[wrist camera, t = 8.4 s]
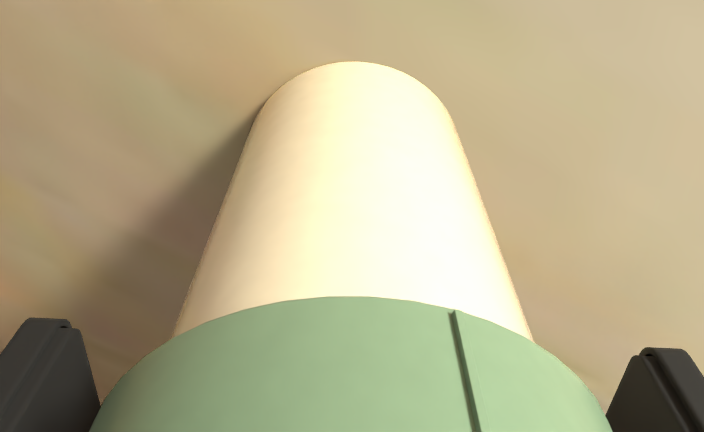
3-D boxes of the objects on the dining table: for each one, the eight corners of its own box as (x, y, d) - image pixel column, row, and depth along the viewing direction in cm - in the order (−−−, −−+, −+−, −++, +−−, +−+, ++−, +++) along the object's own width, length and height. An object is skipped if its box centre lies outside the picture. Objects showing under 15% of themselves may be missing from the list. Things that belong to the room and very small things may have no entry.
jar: (491, 206, 18) (671, 669, 8) (312, 279, 19) (265, 744, 9) (406, 18, 15) (519, 373, 5) (203, 123, 16) (-45, 557, 6)
